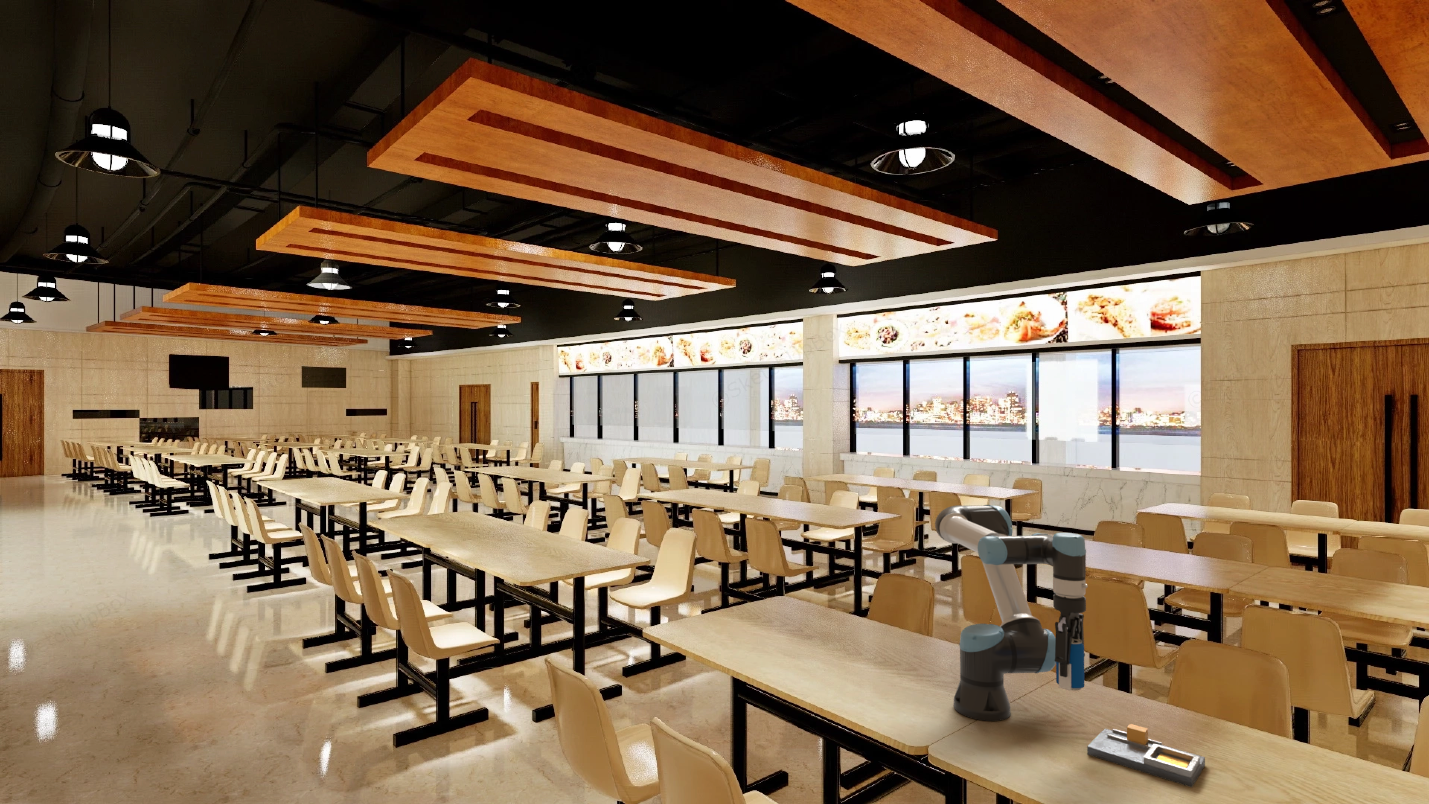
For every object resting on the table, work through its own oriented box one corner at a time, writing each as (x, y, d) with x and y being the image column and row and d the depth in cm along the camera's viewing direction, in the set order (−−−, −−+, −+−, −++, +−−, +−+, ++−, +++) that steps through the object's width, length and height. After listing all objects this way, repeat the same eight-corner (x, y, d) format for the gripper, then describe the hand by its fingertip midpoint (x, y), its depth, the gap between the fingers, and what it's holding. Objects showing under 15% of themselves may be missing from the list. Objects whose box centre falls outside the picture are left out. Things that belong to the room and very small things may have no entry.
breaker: (1126, 739, 180) (1126, 727, 180) (1130, 736, 182) (1130, 723, 182) (1145, 745, 177) (1144, 732, 177) (1148, 741, 179) (1147, 728, 179)
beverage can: (1087, 692, 179) (1087, 644, 179) (1059, 690, 180) (1059, 642, 181) (1080, 683, 185) (1080, 636, 186) (1053, 681, 187) (1053, 635, 187)
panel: (1087, 754, 177) (1087, 740, 177) (1104, 736, 187) (1104, 722, 187) (1192, 787, 162) (1191, 772, 162) (1204, 765, 172) (1204, 751, 172)
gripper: (1071, 604, 174) (1072, 699, 173) (1097, 590, 187) (1098, 679, 187) (1039, 598, 179) (1040, 691, 179) (1067, 585, 193) (1068, 671, 192)
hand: (1070, 684), depth 183 cm, fingers closed on beverage can, 6 cm apart
